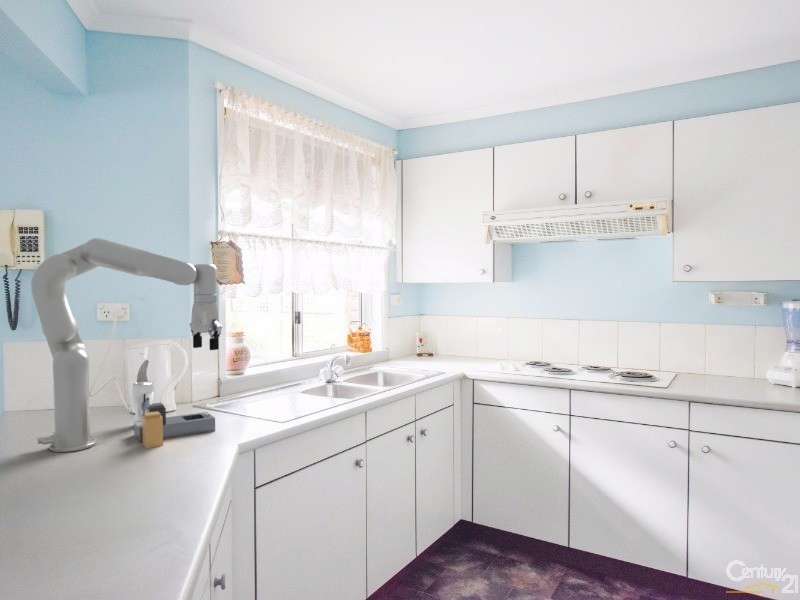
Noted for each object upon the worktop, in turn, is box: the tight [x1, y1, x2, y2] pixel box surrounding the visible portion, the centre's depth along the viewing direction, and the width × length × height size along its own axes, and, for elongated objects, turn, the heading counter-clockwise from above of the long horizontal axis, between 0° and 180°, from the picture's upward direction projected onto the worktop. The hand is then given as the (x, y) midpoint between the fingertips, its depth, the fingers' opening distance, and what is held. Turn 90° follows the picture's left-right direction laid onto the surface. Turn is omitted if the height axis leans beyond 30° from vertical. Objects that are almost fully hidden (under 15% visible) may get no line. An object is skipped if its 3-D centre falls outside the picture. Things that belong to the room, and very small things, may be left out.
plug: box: [142, 411, 164, 449], centre depth 177 cm, size 5×5×10 cm
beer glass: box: [131, 381, 155, 422], centre depth 200 cm, size 7×7×15 cm
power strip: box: [133, 402, 216, 443], centre depth 190 cm, size 24×10×10 cm, turn 125°
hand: (205, 348), depth 194 cm, fingers open, 9 cm apart
